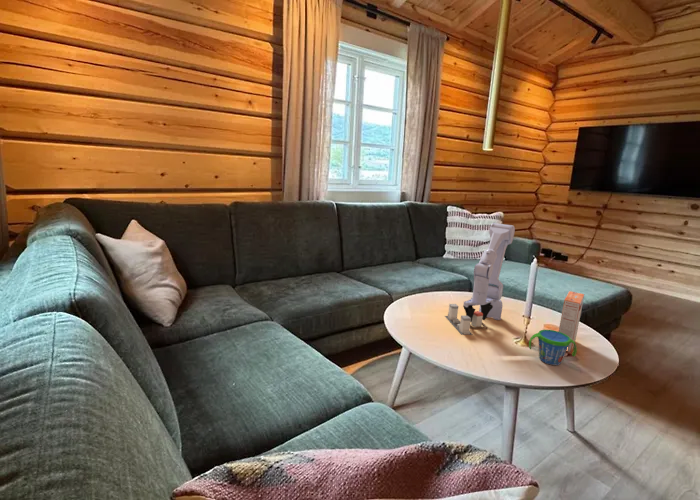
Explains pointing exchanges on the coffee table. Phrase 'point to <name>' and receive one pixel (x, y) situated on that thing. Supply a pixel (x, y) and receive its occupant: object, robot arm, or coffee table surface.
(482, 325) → the tray
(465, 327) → the fuse slot
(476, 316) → the red cap fuse
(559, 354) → the snack cup
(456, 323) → the block
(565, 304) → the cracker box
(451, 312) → the block
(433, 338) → the coffee table surface
